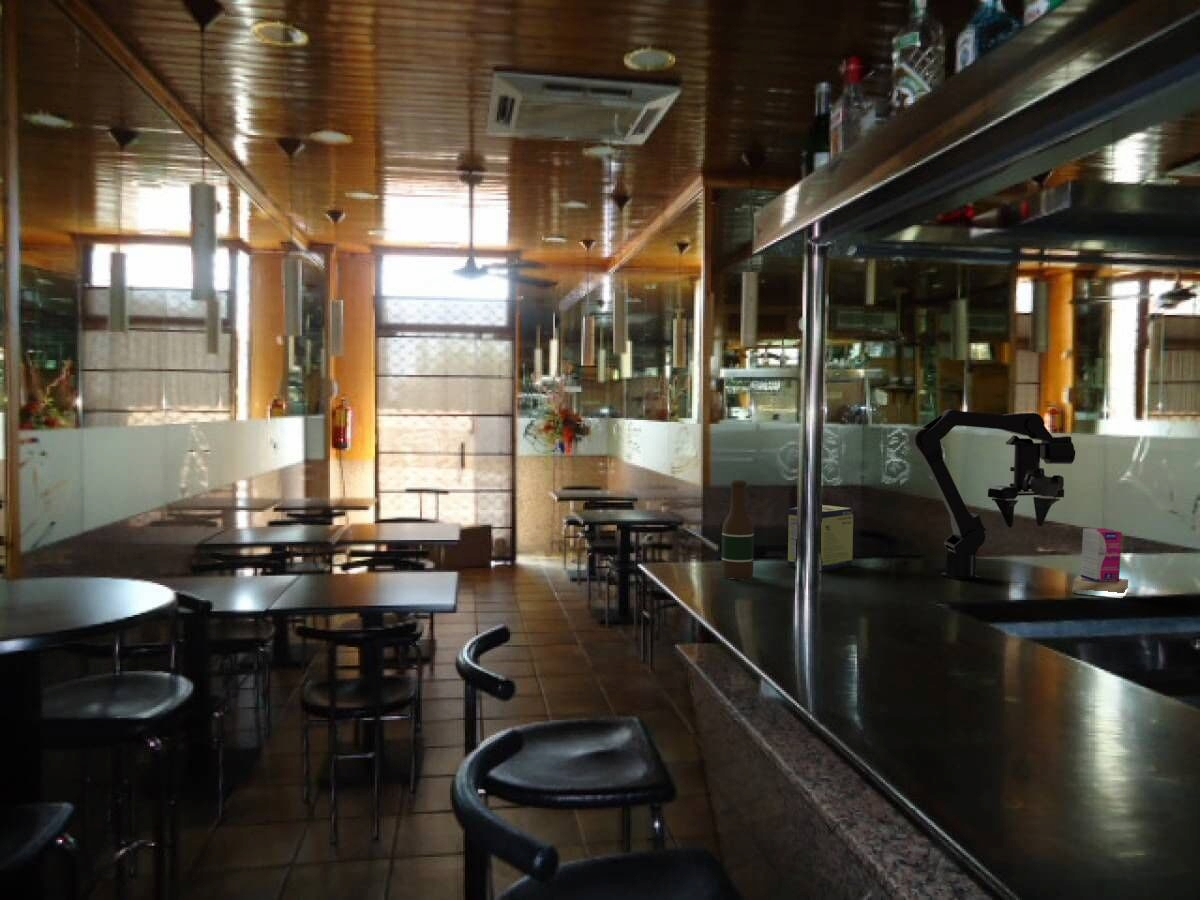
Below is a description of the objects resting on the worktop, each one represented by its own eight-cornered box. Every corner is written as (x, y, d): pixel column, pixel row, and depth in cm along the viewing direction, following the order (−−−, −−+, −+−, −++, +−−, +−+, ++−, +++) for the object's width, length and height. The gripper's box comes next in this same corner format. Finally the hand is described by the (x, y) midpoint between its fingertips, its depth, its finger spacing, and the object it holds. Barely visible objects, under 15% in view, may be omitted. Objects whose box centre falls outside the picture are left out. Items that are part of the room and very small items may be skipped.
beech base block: (1072, 593, 205) (1072, 580, 205) (1079, 586, 213) (1079, 573, 213) (1122, 599, 199) (1123, 585, 199) (1127, 592, 207) (1128, 578, 207)
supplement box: (1096, 582, 203) (1098, 531, 202) (1079, 577, 209) (1081, 528, 208) (1120, 581, 204) (1122, 531, 203) (1103, 576, 209) (1104, 527, 209)
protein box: (853, 565, 241) (854, 507, 240) (820, 572, 230) (821, 511, 229) (819, 560, 248) (820, 504, 248) (786, 566, 238) (787, 508, 237)
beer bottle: (755, 580, 218) (757, 481, 217) (723, 580, 218) (724, 481, 217) (750, 574, 226) (752, 479, 224) (719, 574, 226) (721, 478, 225)
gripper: (1021, 466, 211) (1019, 532, 212) (1083, 465, 217) (1081, 529, 218) (987, 463, 222) (985, 526, 222) (1047, 462, 228) (1045, 523, 228)
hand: (1025, 526), depth 222 cm, fingers open, 9 cm apart
